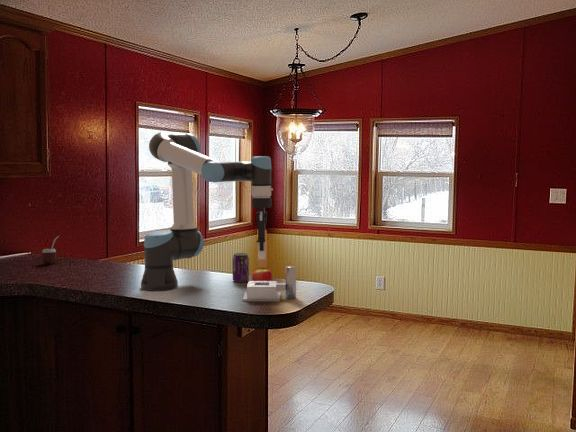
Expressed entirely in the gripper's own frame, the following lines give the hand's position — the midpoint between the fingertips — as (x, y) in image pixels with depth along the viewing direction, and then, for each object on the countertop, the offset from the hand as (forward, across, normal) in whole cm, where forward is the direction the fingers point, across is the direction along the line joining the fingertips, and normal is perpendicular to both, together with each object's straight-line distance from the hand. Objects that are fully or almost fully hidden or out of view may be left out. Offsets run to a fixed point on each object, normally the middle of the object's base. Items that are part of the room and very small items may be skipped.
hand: (262, 258), depth 230 cm
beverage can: (+15, +33, +11) cm, 38 cm away
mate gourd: (+15, +78, +113) cm, 138 cm away
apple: (+16, +19, +1) cm, 25 cm away
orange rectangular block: (+3, 0, 0) cm, 3 cm away
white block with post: (+16, 0, -3) cm, 16 cm away
